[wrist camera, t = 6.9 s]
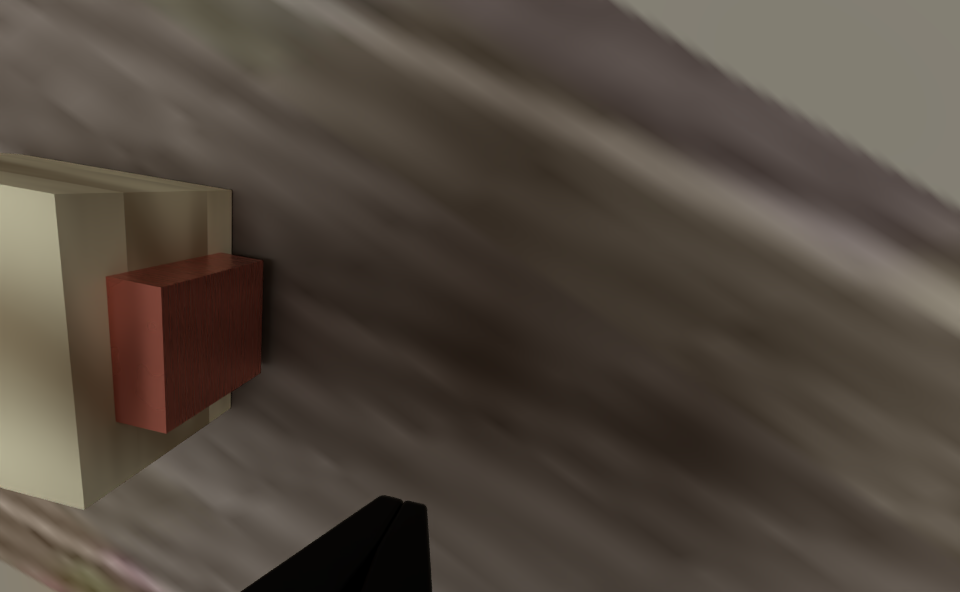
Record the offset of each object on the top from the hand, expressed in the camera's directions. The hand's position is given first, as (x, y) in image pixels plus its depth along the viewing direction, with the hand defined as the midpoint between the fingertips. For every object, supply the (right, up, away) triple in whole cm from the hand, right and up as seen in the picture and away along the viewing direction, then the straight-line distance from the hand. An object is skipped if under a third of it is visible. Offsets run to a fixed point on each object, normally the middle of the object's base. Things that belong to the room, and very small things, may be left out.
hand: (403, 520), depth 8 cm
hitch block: (-11, +4, +8) cm, 15 cm away
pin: (-11, +4, +8) cm, 15 cm away
